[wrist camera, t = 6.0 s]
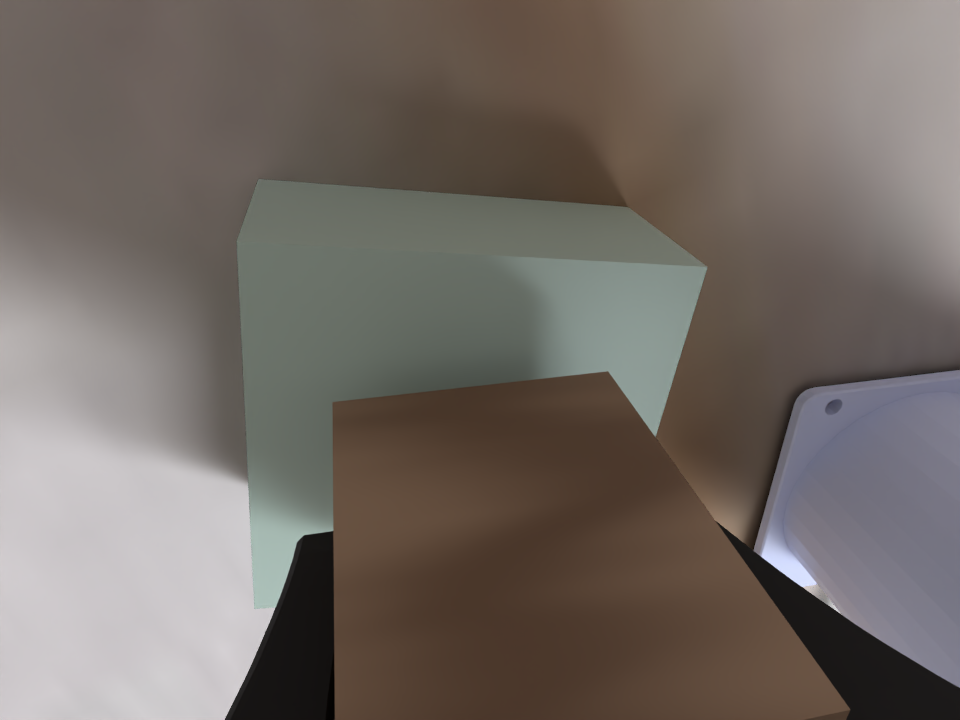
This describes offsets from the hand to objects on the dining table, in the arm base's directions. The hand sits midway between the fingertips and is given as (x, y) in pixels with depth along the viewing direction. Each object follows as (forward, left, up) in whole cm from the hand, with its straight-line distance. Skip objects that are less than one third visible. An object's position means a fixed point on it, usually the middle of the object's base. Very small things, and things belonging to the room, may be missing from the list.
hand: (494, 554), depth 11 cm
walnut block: (0, 0, -2) cm, 2 cm away
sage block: (0, 0, -7) cm, 7 cm away
